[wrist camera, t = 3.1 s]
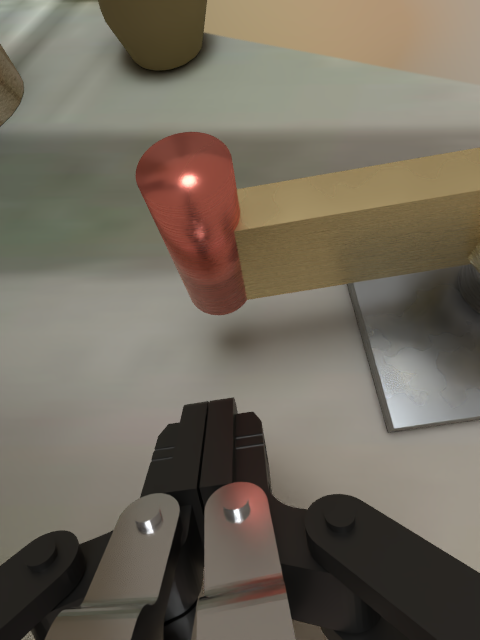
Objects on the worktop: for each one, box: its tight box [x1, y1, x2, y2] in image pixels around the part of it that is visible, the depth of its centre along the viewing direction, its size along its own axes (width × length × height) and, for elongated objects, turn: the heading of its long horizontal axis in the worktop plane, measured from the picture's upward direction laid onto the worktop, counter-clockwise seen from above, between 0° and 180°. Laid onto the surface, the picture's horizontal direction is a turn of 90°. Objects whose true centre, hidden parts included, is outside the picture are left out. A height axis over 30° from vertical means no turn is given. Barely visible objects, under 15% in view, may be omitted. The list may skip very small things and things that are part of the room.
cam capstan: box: [136, 132, 480, 315], centre depth 13 cm, size 19×8×6 cm, turn 97°
